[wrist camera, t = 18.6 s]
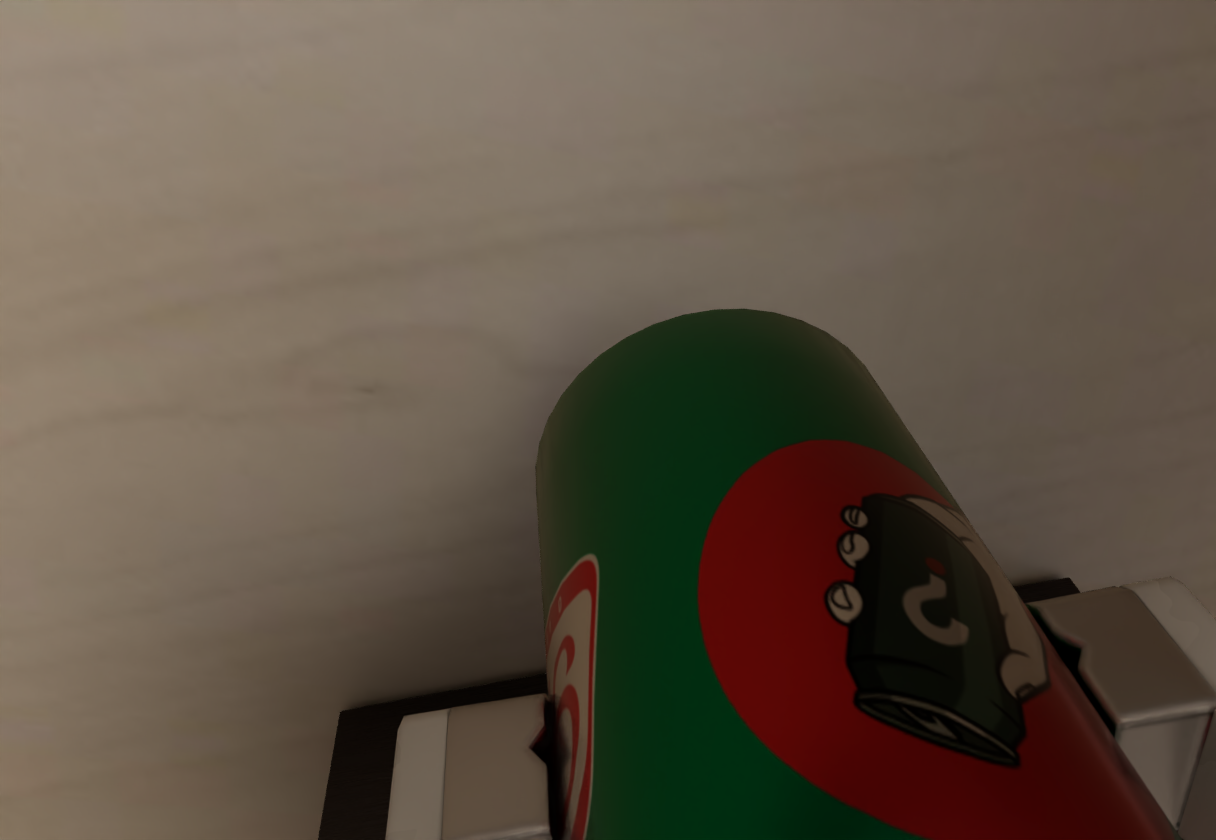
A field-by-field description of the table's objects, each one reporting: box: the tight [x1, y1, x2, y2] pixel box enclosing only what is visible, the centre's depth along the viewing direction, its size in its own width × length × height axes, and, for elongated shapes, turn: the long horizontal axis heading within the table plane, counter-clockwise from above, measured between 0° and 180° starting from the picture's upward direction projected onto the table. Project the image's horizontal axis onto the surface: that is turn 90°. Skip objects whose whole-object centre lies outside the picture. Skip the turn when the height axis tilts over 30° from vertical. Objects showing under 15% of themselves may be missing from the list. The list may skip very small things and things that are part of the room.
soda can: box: [535, 309, 1182, 840], centre depth 9 cm, size 5×5×12 cm
